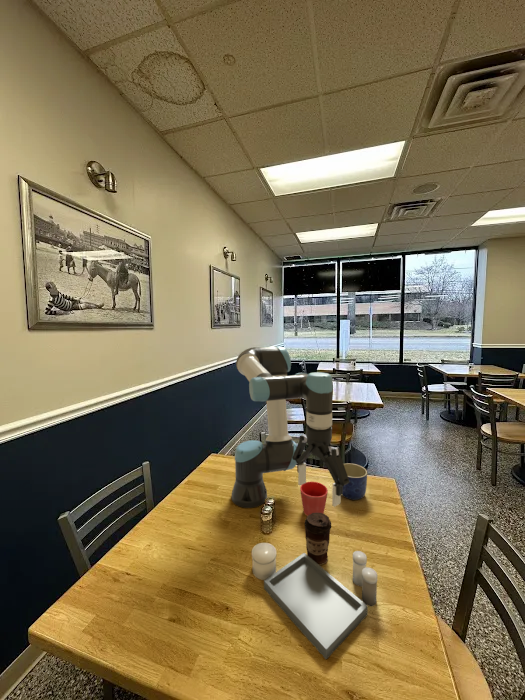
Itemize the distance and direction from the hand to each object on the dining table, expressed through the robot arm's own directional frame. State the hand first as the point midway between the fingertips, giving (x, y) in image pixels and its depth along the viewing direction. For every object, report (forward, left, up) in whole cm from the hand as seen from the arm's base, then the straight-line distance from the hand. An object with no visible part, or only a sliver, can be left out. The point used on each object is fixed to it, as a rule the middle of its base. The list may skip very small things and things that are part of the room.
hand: (318, 493), depth 88 cm
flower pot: (-17, +17, -23) cm, 34 cm away
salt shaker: (+12, +4, -22) cm, 26 cm away
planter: (-15, +39, -23) cm, 48 cm away
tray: (+8, -11, -22) cm, 26 cm away
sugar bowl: (-8, -15, -23) cm, 28 cm away
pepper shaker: (+17, +1, -22) cm, 28 cm away
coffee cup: (-1, +1, -23) cm, 23 cm away
